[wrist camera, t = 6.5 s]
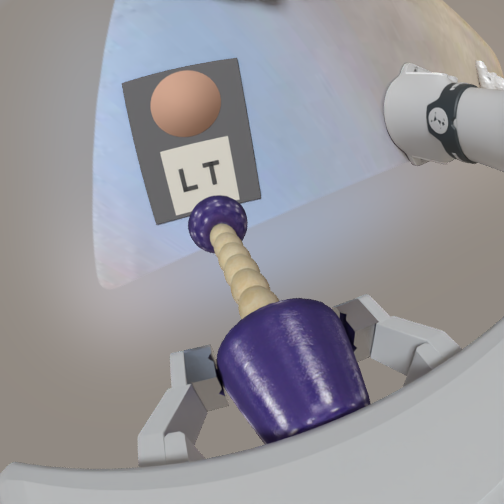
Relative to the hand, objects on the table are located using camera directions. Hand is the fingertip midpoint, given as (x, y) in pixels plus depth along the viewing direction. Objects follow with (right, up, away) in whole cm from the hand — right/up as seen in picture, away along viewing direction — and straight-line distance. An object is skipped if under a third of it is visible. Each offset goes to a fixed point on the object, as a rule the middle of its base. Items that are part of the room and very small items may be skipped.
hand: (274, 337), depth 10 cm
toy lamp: (-3, +5, +11) cm, 12 cm away
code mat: (-8, +18, +25) cm, 31 cm away
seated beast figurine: (+52, +42, +30) cm, 73 cm away
